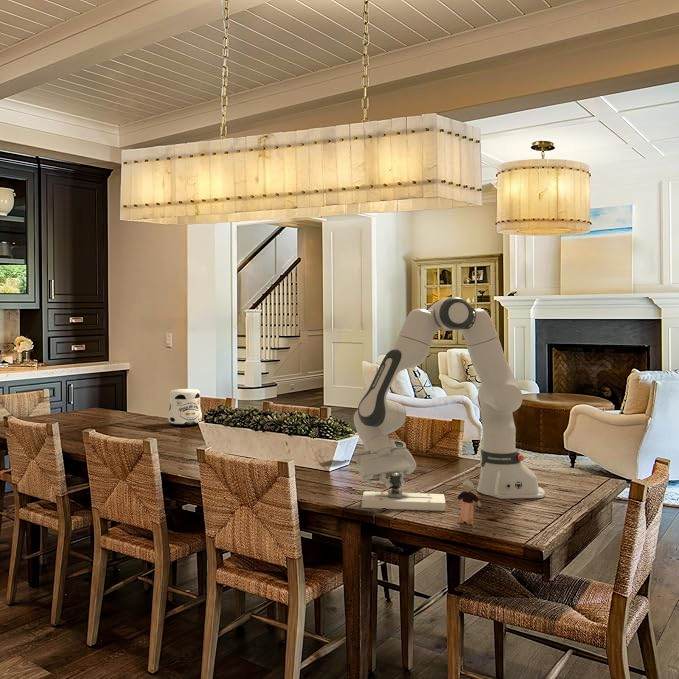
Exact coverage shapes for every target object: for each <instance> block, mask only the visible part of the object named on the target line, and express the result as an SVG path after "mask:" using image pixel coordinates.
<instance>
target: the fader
mask: <svg viewBox="0 0 679 679" xmlns="http://www.w3.org/2000/svg"><path fill="white" fill-rule="evenodd" d="M389 477H390V479H389V481H391V482H392V484H393V487H392V488H390V489H389V490H388V491H387V492H388V497H399V498H402V493H403V490H400V488H401V487H400V474H399V473H392V474H391V475H390V476H389Z"/></svg>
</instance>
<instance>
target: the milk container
mask: <svg viewBox="0 0 679 679" xmlns="http://www.w3.org/2000/svg"><path fill="white" fill-rule="evenodd" d="M202 418H203V414H202V409H201V391H200V390H199V389H196V388H178V389H171V390H170V391H169V410H168V413H167V419H168V423H169V424H171V425H174V426H180V427H186V426H196V425H198V424H199V423H198V422H199V421H202Z"/></svg>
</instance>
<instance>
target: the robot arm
mask: <svg viewBox="0 0 679 679" xmlns="http://www.w3.org/2000/svg"><path fill="white" fill-rule="evenodd" d="M455 330H458V331H459V332H460V333H461V334H462V337H464V342H465V345H466V348H467V351H468V354H469V358H470V361H471V363H472V367H473V369H474V370H475V373H476V374H477V376H478V377H477V378H478V379H479V381H480V384H479V387H478V396H479V407H480V416H481V423H482V424H481V425H482V426H481V427H482V435H481V436H482V442H481V444H482V446H481V447H482V448H481V450H480V457H479V458H480V466H481V467H480V474H479V479H478V484H477V487H476V492H479V493H480V494H482V495H487V496H491V497H493V498H497V499H502V500H504V499H542V498H544V497H545V496H546V492H545V490H544V489H543V488H542V487H540V486H539V483H538V478H537V476H536V474H535V473H534V472H533V471H532V470H531V469H530V468H528V467H527V466H526V465H525V464H524V463H522V462H523V461H524V460H525V456H524V455H523V454H522V453H520V452H519V451H517V450H516V439H517V438H516V432H517V431H516V430H517V428H516V425H515V420H514V414H513V413H514V412H515V411H517V410H519V408H520V407H521V405H522V404H523V399H524V397H523V393H522V390H521V389H520V387H519V384H518V382H517V379H516V378H515V375H514V373H513V371H512V369H511V367H510V364H509V362H508V361H507V358H506V356H505V353H504V350H503V347H502V343H501V341H500V337H499V334H498V332H497V329H496V326H495V324H494V323H493V319H491V316H490V315H489V313H488V312H487V310H485V309H482V308H473V306H471V304H469V302H467V301H466V300H465V299H463V298H461V297H458V296H453V297H452V296H451V297H444V298H441V299H438V300H436V301H434V302H433V303H431V304H430V305H429V306H428V307H427V308H426V309H425V308H414V309H413V310H411V311H410V312H409V313H408V315H407V317H406V318H405V321H404V322H403V325H402V327H401V329H400V332H399V335H398V337H397V340H396V342H395V343H394V345H393V347H392V348H391V350H389V351H388V352H387V353H386V354H385V356H384V357H383V358H382V361H381V363H380V365H379V367H378V369H377V370H376V373H375V375H374V378H373V379H372V381H371V383H370V386H369V388H368V389H367V391H366V393H365V394H364V395H363V397H362V399H361V400H360V401H359V404H358V407H357V410H356V411H355V413H354V414H353V423H354V427H355V429H356V430H355V431H356V432H357V435H358V437H359V439H360V440H361V441H362V443H363V444H362V445H363V447H364V448H363V449H364V451H362V452H357V453H356V454H355V455H354V460H355V462H356V464H357V469H358V472H359V475H360V477H361V479H363V480H372V479H379V481H381V482H382V483H383V484H384V485H385V487H386V489H391V488H392V487H393V484H392V482H391V481H390V479H388V478H389V477H390V475H391V474H392V473H399V474H400V488H401V487H404V486H405V481H404V480H405V479H404V475H408V474H413V473H414V471H415V470H416V468H417V462H416V460H415V458H414V457H413V455H412V453H411V452H410V451H409V449H407V444H406V442H404V441H399V440H396V439H393V438H390V437H389V435H391V434H393V433H395V432H396V431H398V430H400V429H401V428H402V427H403V426H404V424H405V423H406V419H407V411H406V408H405V407H404V405H403V404H401V403H400V402H397V401H394V400H390V399H387V395H388V393H389V391H390V388H391V386H392V385H393V382H394V380H395V378H396V376H397V375H398V374H399V373H400V372H402V371H405V370H407V369H413V368H416V367H418V366H420V365H422V364H423V363H424V362H425V360H426V359H427V356H428V354H429V351H430V348H431V346H432V343H433V338H434V337H435V335H436V333H437V332H438V331H446V332H447V331H448V332H450V331H455ZM387 477H388V478H387Z"/></svg>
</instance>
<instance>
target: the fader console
mask: <svg viewBox="0 0 679 679" xmlns="http://www.w3.org/2000/svg"><path fill="white" fill-rule="evenodd" d="M362 493H363V495H362V498H361V508H362V509H364V508H365V509H382V508H386V509H387V510H390V509H391V510H414V511H416V510H417V511H433V512H434V511H436V512H437V511H440V512H443V511H444V512H446V498H445V494H443V493H428V492H427V493H424V492H423V493H422V492H421V493H419V492H418V493H417V492H402V498H399V497H388V491H368V490H366V491H363V492H362Z"/></svg>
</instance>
